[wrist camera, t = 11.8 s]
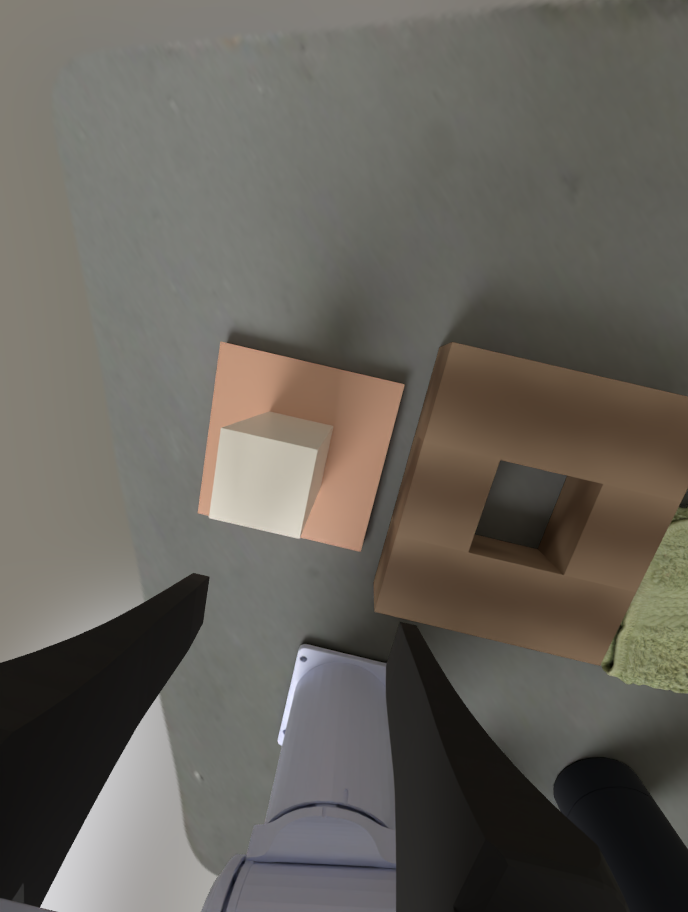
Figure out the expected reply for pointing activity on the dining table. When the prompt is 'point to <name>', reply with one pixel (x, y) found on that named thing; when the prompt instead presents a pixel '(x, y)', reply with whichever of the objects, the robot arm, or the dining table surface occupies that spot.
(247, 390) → the tile
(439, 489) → the brown board with hole
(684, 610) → the washcloth
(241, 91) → the dining table surface
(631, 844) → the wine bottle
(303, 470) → the plug
